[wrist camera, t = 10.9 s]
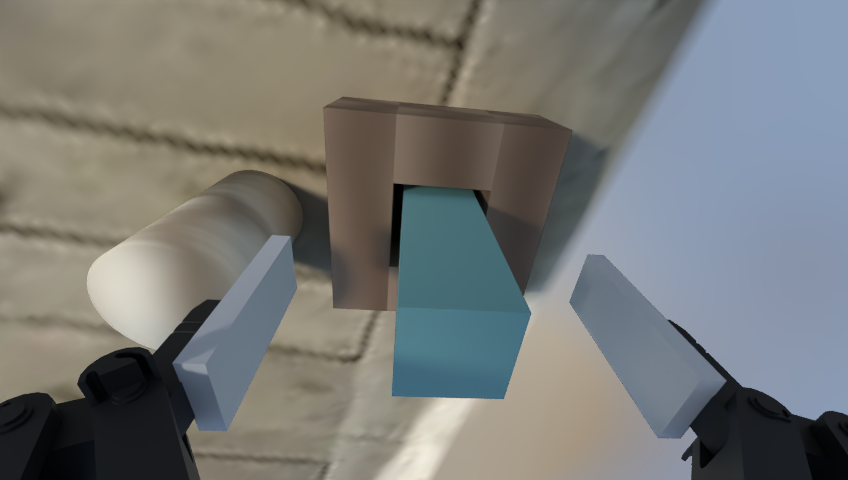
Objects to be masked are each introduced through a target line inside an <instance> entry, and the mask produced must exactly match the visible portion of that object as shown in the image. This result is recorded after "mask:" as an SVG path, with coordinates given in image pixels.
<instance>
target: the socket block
mask: <svg viewBox="0 0 848 480" xmlns="http://www.w3.org/2000/svg"><path fill="white" fill-rule="evenodd" d="M323 112H324V132H325V151H326V171H327V190H328V210H329V229H330V249H331V269H332V288H333V308H340V309H361V310H381V311H396V309H397V291H398V272H399V253H400V235H401V229H393V226H394V207H395V188H396V184H409V185H422V186H435V187H448V188H461V189H472V190H473V192H474V194H475V197H476V199H477V201H478V203H479V205H480V207H481V209H482V211H483V213H484V215H485V217H486V220H487V222H488V224H489V226H490V228H491V230H492V232H493V234H494V236H495V238H496V240H497V243H498V245H499V247H500V249H501V251H502V253H503V255H504V257H505V259H506V261H507V263H508V266H509V268H510V270H511V272H512V274H513V276H514V278H515V280H516V282H517V284H518V286H519V288H520V291H521V293H522V295H524V292H525V289H526V285H527V282H528V278H529V275H530V272H531V268H532V265H533V262H534V258H535V255H536V251H537V248H538V245H539V241H540V238H541V235H542V231H543V228H544V224H545V221H546V218H547V214H548V211H549V208H550V204H551V201H552V198H553V194H554V191H555V187H556V184H557V181H558V177H559V174H560V171H561V167H562V164H563V160H564V157H565V154H566V150H567V147H568V144H569V140H570V137H571V133H572V130H570V129H568V128H566V127H563V126H561V125H559V124H557V123H554V122H552V121H550V120H548V119H545V118H543V117H541V116H538V115H529V114H519V113H508V112H498V111H487V110H477V109H466V108H456V107H445V106H435V105H424V104H414V103H403V102H393V101H382V100H372V99H361V98H350V97H342V98H340V99H338V100H336V101H334V102H333V103H331V104H329V105H327V106H325V107H323Z"/></svg>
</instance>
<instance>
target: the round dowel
mask: <svg viewBox="0 0 848 480" xmlns="http://www.w3.org/2000/svg"><path fill="white" fill-rule="evenodd" d="M302 225H303V211H302V207H301V204H300V202H299V200H298V198H297V197H296V195H295V194H294V192H293V191H292V190H291V189H290V188H289V187H288V186H287V185H286V184H285V183H284V182H282V181H281V180H279V179H278V178H276V177H274V176H272V175H270V174H267V173H264V172H260V171H255V170H244V171H238V172H235V173H232V174H230V175H228V176H227V177H225V178H224V179H222V180H220V181H219V182H217V183H216V184H214V185H212V186H211V187H209V188H208V189H206V190H205V191H203V192H201V193H200V194H198V195H197V196H195V197H193V198H192V199H190V200H189V201H187V202H185V203H184V204H182V205H181V206H179V207H178V208H176V209H174V210H173V211H171V212H170V213H168V214H166V215H165V216H163V217H162V218H160V219H159V220H157V221H155V222H154V223H152V224H151V225H149V226H147V227H146V228H144V229H143V230H141V231H139V232H138V233H136V234H135V235H133V236H132V237H130V238H128V239H127V240H125V241H124V242H122V243H120V244H119V245H117V246H116V247H114V248H113V249H111V250H109V251H108V252H106V253H105V254H103V255H101V256H100V257H99V258H98V259H97V260H96V261H95V262H94V263H93V265H92V266H91V268H90V270H89V273H88V277H87V288H88V293H89V296H90V298H91V301H92V303H93V305H94V306H95V308H96V310H97V311H98V312H99V314H100V315H101V316H102V317H103V318H104V319H105V320H106V321H107V322H108V323H109V324H110V325H111V326H112V327H113V328H114V329H116V330H117V331H119V332H120V333H121V334H123V335H124V336H126V337H128V338H129V339H131V340H133V341H135V342H137V343H139V344H141V345H144V346H146V347H149V348H152V349H155V350H157V349H158V348H159V347H160V346H161V345H162V343H163V342H164V341H165V340H166V339H167V338H168V336H169V335H170V334H171V333H173V332H174V330H175V328H176V327H177V326H178V325H179V324H180V323H182V320H183V319H184V318H185V317H186V316H187V315H188V313H189V312H190V311H191V310H192V309H193V308H195V307H196V306H198V305H199V304H201V303H202V302H204V301H205V300H207V299H210V300H222V299H223V297H224V296H225V295H226V294H227V292H228V291H229V290H230V288H231V287H232V286H233V285H234V283H235V282H236V281H237V279H238V278H239V277H240V276H241V274H242V273H243V272H244V270H245V269H246V268H247V267H248V265H249V264H250V263H251V261H252V260H253V259H254V258H255V256H256V255H257V254H258V252H259V251H260V250H261V249H262V247H263V246H264V245H265V243H266V242H267V241H268V240H269V238H270V237H271V236H272V235H279V236H291V244H293V242H294V241H295V239H296V238H297V236H298V234H299V233H300V231H301V228H302Z"/></svg>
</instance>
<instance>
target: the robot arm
mask: <svg viewBox="0 0 848 480" xmlns="http://www.w3.org/2000/svg"><path fill="white" fill-rule="evenodd" d="M296 289H297V286H296V277H295V269H294V260H293V252H292V244H291V236H279V235H272V236H271V237H270V238H269V240H268V241H267V242H266V243H265V245H264V246H263V247H262V249H261V250H260V251H259V252H258V254H257V255H256V256H255V258H254V259H253V260H252V261H251V263H250V264H249V265H248V267H247V268H246V269H245V270H244V272H243V273H242V274H241V276H240V277H239V278H238V279H237V281H236V282H235V283H234V285H233V286H232V287H231V288H230V290H229V291H228V292H227V294H226V295H225V296H224V297H223V299H222V300H210V299H207V300H205V301H204V302H202V303H201V304H199V305H198V306H196V307H195V308H193V309H192V310H191V311H190V312H189V313H188V315H187V316H186V317H185V318H184V319H183V320H182V323H180V324H179V325H178V326H177V327H176V328H175V330H174V332H173V333H171V334H170V335H169V336H168V338H167V339H166V340H165V341H164V342H163V343H162V345H161V346H160V347H159V348H158V349H157V350H156V352H155V353H154V354H153V355H152V354H151V353H150V352H149V350H147V349H144V348H141V347H132V348H125V349H121V350H117V351H114V352H112V353H109V354H107V355H105V356H103V357H101V358H99V359H98V360H96V361H95V362H93V363H92V364H91V365H89V366H88V367H87V368H86V369H85V370H84V371H83V373H82V374H81V375H80V377H79V380H78V383H77V385H78V386H79V388H80V389H81V391H82V393H83V394H84V396H85V397H86V398H82V399H77V400H73V401H68V402H64V403H59V404H56V403H55V401H54V400H53V399H52V398H51V397H50V396H49V395H48V394H46V393H39V392H36V393H30V394H23V395H20V396H18V397H15V398H12V399H9V400H6V401H4V402H3V403H1V404H0V480H200V477H199V473H198V470H197V467H196V463H195V460H194V456H193V453H192V449H191V446H190V443H189V439H188V436H187V434H186V431H187V429H188V428H189V426H190V424H191V423H192V421H193V419H195V421H196V424H197V426H198V429H199V430H212V431H227V430H228V428H229V426H230V424H231V422H232V420H233V418H234V416H235V414H236V412H237V410H238V407H239V405H240V403H241V401H242V399H243V397H244V395H245V393H246V391H247V389H248V387H249V385H250V383H251V381H252V379H253V377H254V375H255V373H256V371H257V369H258V367H259V365H260V363H261V361H262V358H263V356H264V354H265V352H266V350H267V348H268V346H269V344H270V342H271V340H272V338H273V336H274V334H275V332H276V330H277V328H278V326H279V324H280V322H281V320H282V318H283V316H284V314H285V312H286V310H287V307H288V305H289V303H290V301H291V299H292V297H293V295H294V293H295V291H296ZM570 304H571V305H572V307H573V308H574V310H575V312H576V313H577V315H578V316H579V318H580V319H581V321H582V322H583V324H584V325H585V327H586V328H587V330H588V332H589V333H590V335H591V336H592V338H593V339H594V341H595V342H596V344H597V345H598V347H599V348H600V350H601V351H602V353H603V354H604V356H605V358H606V359H607V361H608V362H609V364H610V365H611V367H612V368H613V370H614V371H615V373H616V375H617V376H618V378H619V379H620V381H621V382H622V384H623V385H624V387H625V388H626V390H627V391H628V393H629V395H630V396H631V397H632V399H633V400H634V402H635V404H636V405H637V407H638V408H639V410H640V411H641V413H642V414H643V416H644V418H645V419H646V420H647V422H648V424H649V425H650V427H651V428H652V430H653V431H654V433H655V434H656V436H657V438H681V437H682V436H683V435H684V433H685V432H686V431H687V430H688V428H689V427H691V428H692V430H693V431H694V432H695V433H696V435H697V436H698V437H697V438H696V439H695V441H694V442H693V443H692V444H691V446H690V447H689V448H688V449H687V450H686V451H685V452H684V454H683V455H682V458H681V459H682V460H684V461H686V460H687V459H688V457H689V456H692V475H691V480H848V415H845V414H843V413H839V412H834V411H827V412H825V413H823V414H822V415H821V416H820V417H819V418H818V419H817V420H816V421H815V420H811V419H807V418H804V417H800V416H797V415H794V414H791V413H790V412H789V411H788V409H786V407H785V406H783V405H782V404H781V403H779V402H778V401H777V400H775V399H774V398H772V397H770V396H768V395H767V394H765V393H763V392H760V391H758V390H755V389H752V388H745V387H742V386H741V385H740V384H739V383H738V382H737V381H736V380H735V379H734V378H733V377H732V376H731V375H730V374H729V373H728V372H727V371H726V370H725V369H724V368H723V367H722V366H721V365H720V364H719V363H718V362H717V361H716V360H715V359H714V358H713V357H712V356H711V355H710V354H709V353H706V351H705V350H704V348H703V347H702V346H701V345H699V344H697V343H696V340H695V339H694V338H692V337H691V336H690V334H688V333H687V332H686V331H685V330H684V329H683V328H681V327H680V326H678V325H677V324H675V323H674V322H672V321H671V320H666V319H665V317H664V316H663V315H662V314H660V312H659V311H658V310H657V309H656V308H655V307H654V306H653V305H652V304H651V303H650V302H649V301H648V300H647V299H646V298H645V297H644V296H643V295H642V294H641V293H640V292H639V291H638V290H637V289H636V288H635V287H634V286H633V285H632V284H631V283H630V282H629V281H628V280H627V279H626V278H625V277H624V276H623V274H622V273H621V272H620V271H619V270H617V268H616V267H614V265H613V264H612V263H611V262H610V261H609V260H608V259H607V258H606V257H605V256H604V255H587V258H586V260H585V264H584V266H583V268H582V271H581V273H580V276H579V279H578V281H577V284H576V286H575V289H574V291H573V294H572V297H571V299H570Z"/></svg>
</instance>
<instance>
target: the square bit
mask: <svg viewBox="0 0 848 480" xmlns="http://www.w3.org/2000/svg"><path fill="white" fill-rule="evenodd" d="M530 316H531V311H530V309H529V307H528V305H527V303H526V301H525V299H524V297H523V295H522V293H521V291H520V288H519V286H518V284H517V282H516V280H515V278H514V276H513V274H512V272H511V270H510V268H509V266H508V263H507V261H506V259H505V257H504V255H503V253H502V251H501V249H500V247H499V245H498V243H497V240H496V238H495V236H494V234H493V232H492V230H491V228H490V226H489V224H488V222H487V220H486V217H485V215H484V213H483V211H482V209H481V207H480V205H479V203H478V201H477V199H476V197H475V194H474V192H473V190H472V189H461V188H448V187H435V186H422V185H409V184H404V186H403V202H402V217H401V235H400V253H399V272H398V291H397V309H396V328H395V346H394V365H393V384H392V396H406V397H445V398H484V399H504V396H505V394H506V391H507V387H508V384H509V381H510V378H511V375H512V372H513V368H514V366H515V362H516V359H517V356H518V353H519V350H520V347H521V344H522V341H523V338H524V334H525V331H526V328H527V325H528V322H529V319H530Z"/></svg>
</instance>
